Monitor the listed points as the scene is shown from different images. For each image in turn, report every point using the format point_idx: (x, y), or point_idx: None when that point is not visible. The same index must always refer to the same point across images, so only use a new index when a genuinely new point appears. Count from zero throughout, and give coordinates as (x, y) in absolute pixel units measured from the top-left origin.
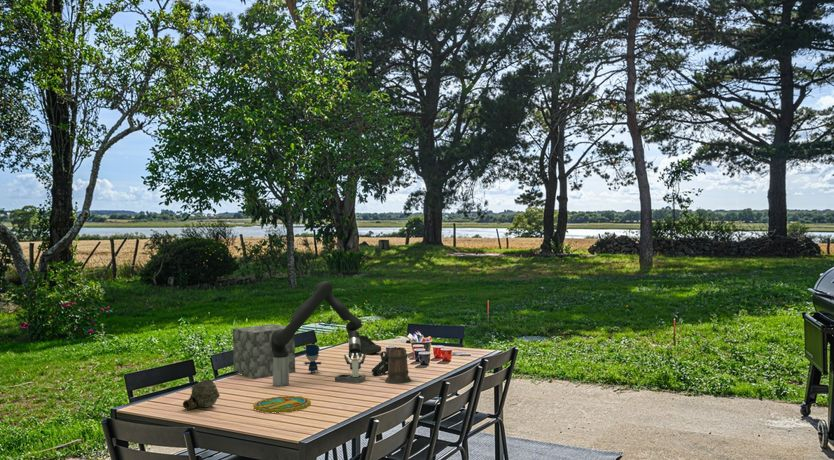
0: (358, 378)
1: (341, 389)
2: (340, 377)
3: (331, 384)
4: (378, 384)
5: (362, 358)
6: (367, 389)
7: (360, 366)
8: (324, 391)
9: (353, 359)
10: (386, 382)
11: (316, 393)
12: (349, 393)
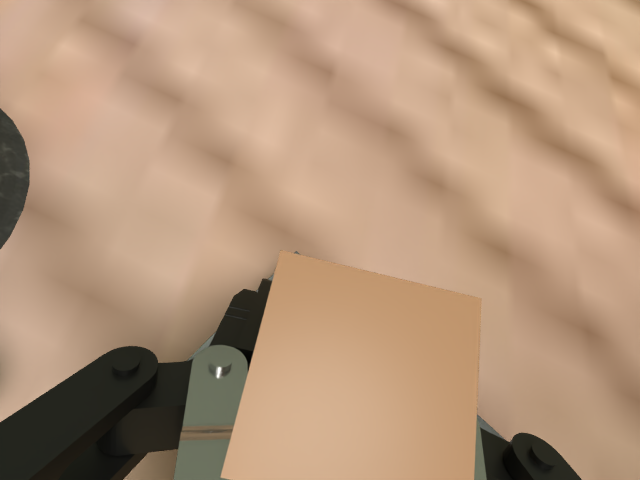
0: (298, 253)
1: (469, 125)
2: (493, 431)
3: (554, 344)
4: (134, 145)
5: (66, 437)
6: (284, 42)
7: (236, 300)
8: (589, 126)
9: (426, 290)
10: (24, 175)
11: (635, 101)
12: (424, 9)
